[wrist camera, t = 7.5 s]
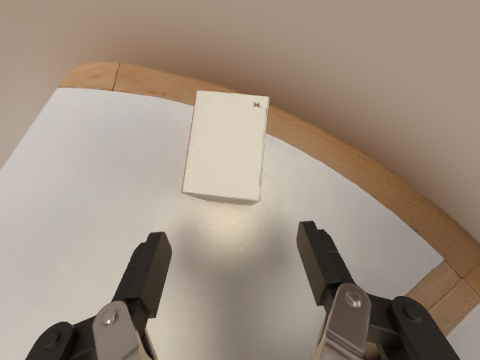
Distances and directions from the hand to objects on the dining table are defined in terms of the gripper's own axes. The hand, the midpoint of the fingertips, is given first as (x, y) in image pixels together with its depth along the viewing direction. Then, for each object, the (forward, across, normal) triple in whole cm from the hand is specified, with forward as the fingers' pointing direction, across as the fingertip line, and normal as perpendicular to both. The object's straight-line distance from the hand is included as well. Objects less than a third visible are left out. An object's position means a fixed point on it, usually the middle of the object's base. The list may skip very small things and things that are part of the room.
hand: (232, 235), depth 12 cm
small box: (+13, 0, +4) cm, 13 cm away
